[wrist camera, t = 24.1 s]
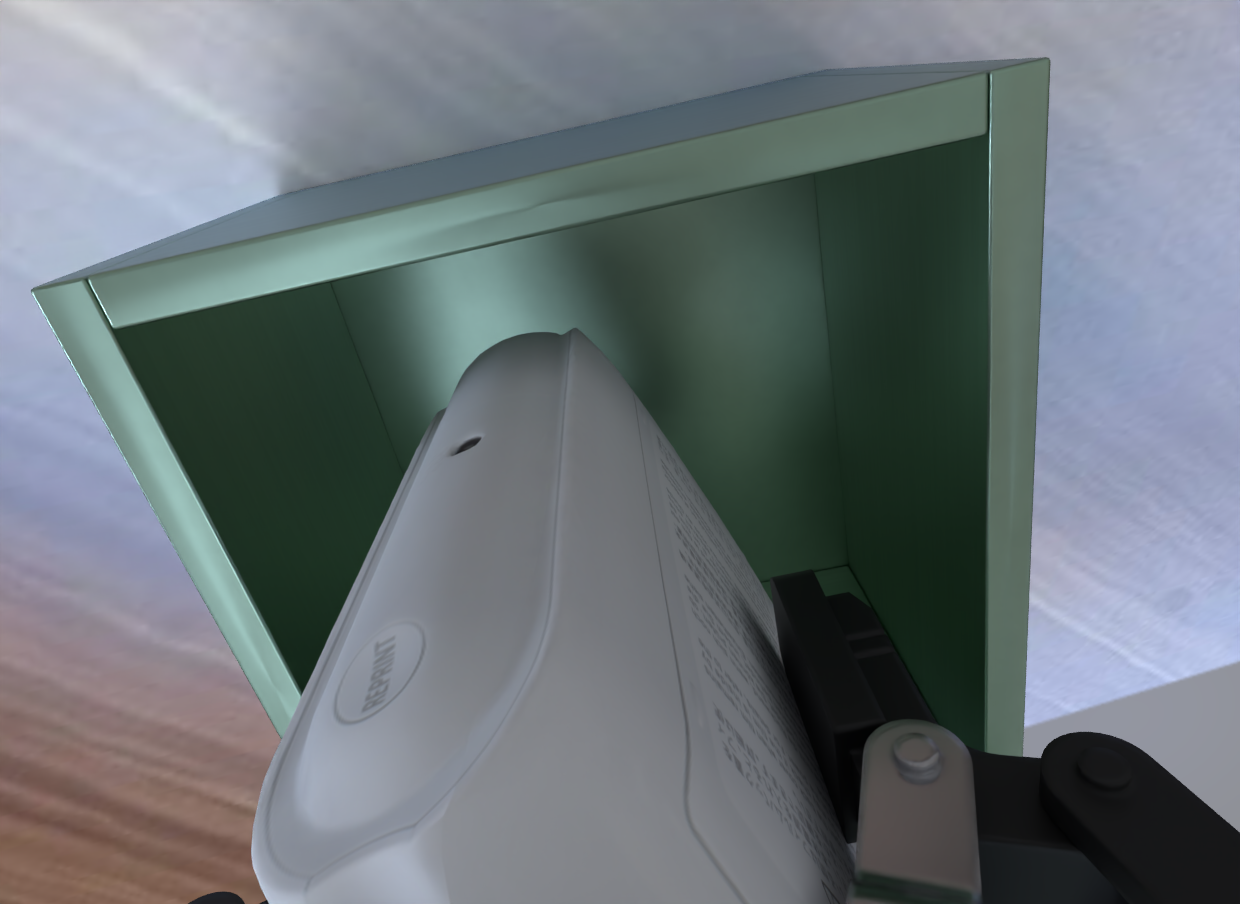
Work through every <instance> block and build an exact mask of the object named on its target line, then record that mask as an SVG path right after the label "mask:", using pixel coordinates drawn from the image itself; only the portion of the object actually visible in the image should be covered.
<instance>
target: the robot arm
mask: <svg viewBox="0 0 1240 904" xmlns="http://www.w3.org/2000/svg"><path fill="white" fill-rule="evenodd" d="M770 586H771V593H772V600H773V607H774V614H775V621H776V628H777V634H778V641H779V647H780V653H781V657H782V661H783V666H784V669H785V673H786V675H787V678H788V681H789V684H790V687H791V690H792V692H793V695H794V698H795V701H796V704H797V706H798V709H799V712H800V715H801V718H802V720H803V723H804V726H805V729H806V732H807V734H808V737H809V740H810V743H811V745H812V748H813V751H814V754H815V757H816V759H817V762H818V765H819V768H820V771H821V773H822V776H823V779H824V782H825V784H826V787H827V790H828V793H829V796H830V798H831V801H832V804H833V807H834V810H835V813H836V815H837V818H838V821H839V824H840V827H841V829H842V832H843V835H844V838H845V841H846V843H847V844H850V843H856V842H857V845H856V859H855V871H854V878H853V879H850V881H849V885H848V891H847V900H846V904H1240V832H1238V831H1237V830H1236V829H1235V828H1234V827H1232V826H1231V825H1230V824H1229V823H1228V822H1226V821H1225V820H1224V819H1223V818H1222V817H1221V816H1220V815H1218V814H1217V813H1216V812H1215V811H1214V810H1213V809H1211V808H1210V807H1209V806H1208V805H1207V804H1205V803H1204V802H1203V801H1202V800H1201V799H1200V798H1198V797H1197V796H1196V795H1195V794H1194V793H1192V792H1191V791H1190V790H1189V789H1188V788H1187V787H1186V786H1184V785H1183V784H1182V783H1181V782H1180V781H1179V780H1177V779H1176V778H1175V777H1174V776H1173V775H1171V774H1170V773H1169V772H1168V771H1167V770H1166V769H1165V768H1163V767H1162V766H1161V765H1160V764H1159V763H1157V762H1156V761H1155V760H1154V759H1153V758H1151V757H1150V756H1149V755H1148V754H1147V753H1145V752H1144V751H1142V750H1141V749H1139V748H1138V747H1136V746H1134V745H1133V744H1131V743H1129V742H1126V741H1124V740H1122V739H1119V738H1116V737H1113V736H1110V735H1106V734H1101V733H1093V732H1076V733H1069V734H1066V735H1062V736H1060V737H1058V738H1056V739H1054V740H1053V741H1052V742H1050V743H1049V744H1048V745H1047V747H1046V748H1045V749H1044V751H1043V754H1042V756H1041V758H1031V757H1020V756H1008V755H999V754H991V753H987V752H983V751H979V750H977V749H974V748H971V747H969V746H967V745H964V743H963V742H962V741H961V740H960V739H959V738H958V737H957V736H956V735H954V734H953V733H952V732H951V731H949V730H947V729H946V728H944V727H942V726H939V725H938V724H937V722H936V721H935V719H934V718H933V716H932V714H931V713H930V711H929V709H928V707H927V706H926V704H925V702H924V700H923V698H922V697H921V695H920V693H919V691H918V690H917V688H916V686H915V684H914V683H913V681H912V679H911V677H910V675H909V674H908V672H907V670H906V668H905V667H904V665H903V663H902V661H901V659H900V658H899V656H898V654H897V652H895V651H894V647H893V645H892V644H891V642H890V640H889V638H888V636H887V635H886V634H885V633H884V629H883V628H882V626H881V624H880V622H879V620H878V619H877V617H876V615H875V613H874V612H873V610H872V608H871V607H869V606H868V605H866V604H865V603H864V602H862V601H861V600H860V599H858V598H857V597H855V596H854V595H853V594H851V593H850V592H846V593H841V594H835V595H830V596H825V594H824V592H823V590H822V588H821V586H820V584H819V582H818V579H817V577H816V575H815V573H814V572H813V570H812V569H810V570H805V571H800V572H795V573H790V574H785V575H780V576H775V577H771V578H770ZM188 904H245V903H244V902H243V900H242V899H241V898H240V897H239V896H238V895H236V894H234V893H231V892H215V893H211V894H207V895H205V896H202V897H199V898H197V899H196V900H194V901H192V902H190V903H188ZM260 904H269V903H268V901H267V900H266V901H264V902H262V903H260Z"/></svg>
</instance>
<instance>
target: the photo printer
mask: <svg viewBox="0 0 1240 904" xmlns="http://www.w3.org/2000/svg"><path fill="white" fill-rule="evenodd" d="M856 845H857V842H856V843H850V844H847V843H846V841H845V838H844V835H843V832H842V829H841V827H840V824H839V821H838V818H837V815H836V813H835V810H834V807H833V804H832V801H831V798H830V796H829V793H828V790H827V787H826V784H825V782H824V779H823V776H822V773H821V771H820V768H819V765H818V762H817V759H816V757H815V754H814V751H813V748H812V745H811V743H810V740H809V737H808V734H807V732H806V729H805V726H804V723H803V720H802V718H801V715H800V712H799V709H798V706H797V704H796V701H795V698H794V695H793V692H792V690H791V687H790V684H789V681H788V678H787V675H786V673H785V669H784V666H783V661H782V657H781V653H780V647H779V641H778V634H777V628H776V621H775V614H774V607H773V603H772V601H771V600H770V598H769V596H768V595H767V593H766V591H765V590H764V588H763V586H762V584H761V583H760V581H759V579H758V578H757V576H756V574H755V573H754V571H753V569H752V568H751V566H750V565H749V563H748V561H747V559H746V557H745V555H744V554H743V553H742V551H741V550H740V548H739V547H738V545H737V544H736V542H735V541H734V539H733V537H732V536H731V534H730V533H729V531H728V530H727V528H726V526H725V525H724V523H723V522H722V520H721V519H720V517H719V515H718V514H717V512H716V511H715V509H714V508H713V506H712V505H711V503H710V502H709V500H708V499H707V497H706V496H705V494H704V493H703V492H702V490H701V489H700V487H699V486H698V484H697V483H696V481H695V480H694V478H693V477H692V475H691V474H690V472H689V471H688V469H687V468H686V466H685V465H684V463H683V462H682V460H681V459H680V457H679V456H678V454H677V452H676V451H675V449H674V448H673V446H672V445H671V444H670V442H669V441H668V439H667V438H666V437H665V435H664V434H663V432H662V431H661V429H660V428H659V426H658V425H657V423H656V422H655V420H654V419H653V418H652V416H651V415H650V413H649V412H648V411H647V409H646V408H645V406H644V405H643V404H642V402H641V401H640V400H639V398H638V397H637V395H636V394H635V393H634V391H633V390H632V389H631V387H630V386H629V384H628V383H627V382H626V380H625V379H624V378H623V376H622V375H621V374H620V372H619V371H618V370H617V369H616V367H615V366H614V365H613V364H612V363H611V362H610V360H609V359H608V358H607V357H606V356H605V354H604V353H603V352H602V351H601V350H600V349H599V348H598V347H597V346H596V345H595V344H594V343H593V342H592V341H591V340H590V339H589V338H588V337H586V336H585V335H584V334H583V333H582V332H581V331H580V330H578V329H577V328H573V329H571V330H570V331H568V332H566V333H565V334H563V335H560V334H558V333H552V332H531V333H525V334H521V335H517V336H513V337H510V338H508V339H505V340H502V341H501V342H499V343H497V344H495V345H493V346H492V347H490V348H488V349H487V350H485V351H484V352H483V353H481V354H480V355H479V356H478V357H477V358H476V359H475V360H474V361H473V362H472V363H471V364H470V365H469V366H468V368H467V369H466V370H465V372H464V373H463V375H462V376H461V378H460V380H459V382H458V384H457V386H456V389H455V391H454V393H453V395H452V398H451V400H450V402H449V404H448V407H446V408H444V409H442V410H441V411H439V412H437V414H436V415H435V417H434V418H433V420H432V421H431V423H430V425H429V426H428V428H427V430H426V432H425V434H424V436H423V438H422V439H421V442H420V445H419V446H418V448H417V449H416V451H415V454H414V456H413V458H412V460H411V462H410V465H409V467H408V469H407V471H406V473H405V475H404V477H403V479H402V481H401V484H400V486H399V488H398V490H397V493H396V495H395V497H394V499H393V501H392V503H391V505H390V508H389V510H388V512H387V514H386V516H385V519H384V521H383V523H382V525H381V526H380V528H379V531H378V533H377V535H376V537H375V540H374V542H373V544H372V546H371V548H370V550H369V552H368V554H367V556H366V559H365V561H364V563H363V565H362V567H361V570H360V572H359V574H358V576H357V578H356V580H355V582H354V584H353V587H352V589H351V591H350V593H349V595H348V597H347V599H346V602H345V604H344V606H343V608H342V610H341V612H340V614H339V616H338V619H337V621H336V623H335V625H334V627H333V629H332V631H331V633H330V635H329V638H328V640H327V642H326V644H325V647H324V649H323V651H322V653H321V656H320V658H319V660H318V662H317V664H316V667H315V669H314V671H313V673H312V675H311V677H310V679H309V681H308V683H307V685H306V687H305V690H304V692H303V694H302V696H301V699H300V701H299V703H298V706H297V708H296V710H295V712H294V714H293V716H292V719H291V721H290V723H289V725H288V727H287V729H286V731H285V734H284V736H283V738H282V740H281V742H280V744H279V746H278V748H277V750H276V752H275V755H274V757H273V759H272V761H271V764H270V766H269V769H268V771H267V774H266V776H265V779H264V781H263V785H262V789H261V794H260V798H259V803H258V807H257V811H256V816H255V820H254V825H253V835H252V847H251V853H252V863H253V868H254V871H255V873H256V876H257V878H258V881H259V884H260V886H261V889H262V891H263V893H264V895H265V897H266V899H267V901H268V903H269V904H846V900H847V891H848V885H849V881H850V879H853V878H854V871H855V859H856Z"/></svg>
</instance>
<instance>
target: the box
mask: <svg viewBox="0 0 1240 904" xmlns="http://www.w3.org/2000/svg"><path fill="white" fill-rule="evenodd" d="M1049 83H1050V59H1049V58H1047V57H1043V58H1025V59H1007V60H988V61H970V62H952V63H934V64H916V65H898V66H880V67H862V68H844V69H827V70H823V71H818V72H814V73H809V74H805V75H801V76H796V77H792V78H788V79H783V80H779V81H775V82H770V83H766V84H762V85H757V86H753V87H749V88H744V89H740V90H735V91H731V92H727V93H722V94H718V95H714V96H709V97H705V98H701V99H696V100H692V101H688V102H683V103H679V104H675V105H670V106H666V107H661V108H657V109H653V110H648V111H644V112H640V113H635V114H631V115H627V116H622V117H618V118H614V119H609V120H605V121H601V122H596V123H592V124H587V125H583V126H579V127H574V128H570V129H566V130H561V131H557V132H553V133H548V134H544V135H540V136H535V137H531V138H527V139H522V140H518V141H513V142H509V143H505V144H500V145H496V146H492V147H487V148H483V149H479V150H474V151H470V152H466V153H461V154H457V155H452V156H448V157H444V158H439V159H435V160H431V161H426V162H422V163H418V164H413V165H409V166H405V167H400V168H396V169H392V170H387V171H383V172H378V173H374V174H370V175H365V176H361V177H357V178H352V179H348V180H344V181H339V182H335V183H331V184H326V185H322V186H318V187H313V188H309V189H304V190H300V191H296V192H291V193H287V194H283V195H278V196H276V197H273V198H270V199H268V200H265V201H262V202H260V203H257V204H254V205H252V206H249V207H246V208H244V209H241V210H238V211H236V212H233V213H230V214H228V215H225V216H222V217H220V218H217V219H215V220H212V221H209V222H207V223H204V224H201V225H199V226H196V227H193V228H191V229H188V230H185V231H183V232H180V233H177V234H175V235H172V236H169V237H167V238H164V239H161V240H159V241H156V242H154V243H151V244H148V245H146V246H143V247H140V248H138V249H135V250H132V251H130V252H127V253H124V254H122V255H119V256H116V257H114V258H111V259H108V260H106V261H103V262H100V263H98V264H95V265H92V266H90V267H87V268H85V269H82V270H79V271H77V272H74V273H71V274H69V275H66V276H63V277H61V278H58V279H55V280H53V281H50V282H47V283H45V284H42V285H39V286H37V287H34V288H33V289H32V290H31V293H32V295H33V297H34V299H35V300H36V302H37V304H38V306H39V307H40V309H41V311H42V313H43V315H44V316H45V318H46V320H47V322H48V324H49V325H50V327H51V329H52V331H53V332H54V334H55V336H56V338H57V340H58V341H59V343H60V345H61V347H62V349H63V350H64V352H65V354H66V356H67V357H68V359H69V361H70V363H71V365H72V366H73V368H74V370H75V372H76V374H77V375H78V377H79V379H80V381H81V382H82V384H83V386H84V388H85V390H86V391H87V393H88V395H89V397H90V399H91V400H92V402H93V404H94V406H95V407H96V409H97V411H98V413H99V415H100V416H101V418H102V420H103V422H104V424H105V425H106V427H107V429H108V431H109V432H110V434H111V436H112V438H113V440H114V441H115V443H116V445H117V447H118V449H119V450H120V452H121V454H122V456H123V458H124V459H125V461H126V463H127V465H128V466H129V468H130V470H131V472H132V474H133V475H134V477H135V479H136V481H137V483H138V484H139V486H140V488H141V490H142V491H143V493H144V495H145V497H146V499H147V500H148V502H149V504H150V506H151V508H152V509H153V511H154V513H155V515H156V516H157V518H158V520H159V522H160V524H161V525H162V527H163V529H164V531H165V533H166V534H167V536H168V538H169V540H170V541H171V543H172V545H173V547H174V549H175V550H176V552H177V554H178V556H179V558H180V559H181V561H182V563H183V565H184V566H185V568H186V570H187V572H188V574H189V575H190V577H191V579H192V581H193V583H194V584H195V586H196V588H197V590H198V591H199V593H200V595H201V597H202V599H203V600H204V602H205V604H206V606H207V608H208V609H209V611H210V613H211V615H212V616H213V618H214V620H215V622H216V624H217V625H218V627H219V629H220V631H221V633H222V634H223V636H224V638H225V640H226V641H227V643H228V645H229V647H230V649H231V650H232V652H233V654H234V656H235V658H236V659H237V661H238V663H239V665H240V667H241V668H242V670H243V672H244V674H245V675H246V677H247V679H248V681H249V683H250V684H251V686H252V688H253V690H254V692H255V693H256V695H257V697H258V699H259V700H260V702H261V704H262V706H263V708H264V709H265V711H266V713H267V715H268V717H269V718H270V720H271V722H272V724H273V725H274V727H275V729H276V731H277V733H278V734H279V736H280V738H281V740H282V738H283V736H284V734H285V731H286V729H287V727H288V725H289V723H290V721H291V719H292V716H293V714H294V712H295V710H296V708H297V706H298V703H299V701H300V699H301V696H302V694H303V692H304V690H305V687H306V685H307V683H308V681H309V679H310V677H311V675H312V673H313V671H314V669H315V667H316V664H317V662H318V660H319V658H320V656H321V653H322V651H323V649H324V647H325V644H326V642H327V640H328V638H329V635H330V633H331V631H332V629H333V627H334V625H335V623H336V621H337V619H338V616H339V614H340V612H341V610H342V608H343V606H344V604H345V602H346V599H347V597H348V595H349V593H350V591H351V589H352V587H353V584H354V582H355V580H356V578H357V576H358V574H359V572H360V570H361V567H362V565H363V563H364V561H365V559H366V556H367V554H368V552H369V550H370V548H371V546H372V544H373V542H374V540H375V537H376V535H377V533H378V531H379V528H380V526H381V525H382V523H383V521H384V519H385V516H386V514H387V512H388V510H389V508H390V505H391V503H392V501H393V499H394V497H395V495H396V493H397V490H398V488H399V486H400V484H401V481H402V479H403V477H404V475H405V473H406V471H407V469H408V467H409V465H410V462H411V460H412V458H413V456H414V454H415V451H416V449H417V448H418V446H419V445H420V442H421V439H422V438H423V436H424V434H425V432H426V430H427V428H428V426H429V425H430V423H431V421H432V420H433V418H434V417H435V415H436V414H437V412H439V411H441V410H442V409H444V408H446V407H448V404H449V402H450V400H451V398H452V395H453V393H454V391H455V389H456V386H457V384H458V382H459V380H460V378H461V376H462V375H463V373H464V372H465V370H466V369H467V368H468V366H469V365H470V364H471V363H472V362H473V361H474V360H475V359H476V358H477V357H478V356H479V355H480V354H481V353H483V352H484V351H485V350H487V349H488V348H490V347H492V346H493V345H495V344H497V343H499V342H501V341H502V340H505V339H508V338H510V337H513V336H517V335H521V334H525V333H531V332H552V333H558V334H560V335H563V334H565V333H566V332H568V331H570V330H571V329H573V328H577V329H578V330H580V331H581V332H582V333H583V334H584V335H585V336H586V337H588V338H589V339H590V340H591V341H592V342H593V343H594V344H595V345H596V346H597V347H598V348H599V349H600V350H601V351H602V352H603V353H604V354H605V356H606V357H607V358H608V359H609V360H610V362H611V363H612V364H613V365H614V366H615V367H616V369H617V370H618V371H619V372H620V374H621V375H622V376H623V378H624V379H625V380H626V382H627V383H628V384H629V386H630V387H631V389H632V390H633V391H634V393H635V394H636V395H637V397H638V398H639V400H640V401H641V402H642V404H643V405H644V406H645V408H646V409H647V411H648V412H649V413H650V415H651V416H652V418H653V419H654V420H655V422H656V423H657V425H658V426H659V428H660V429H661V431H662V432H663V434H664V435H665V437H666V438H667V439H668V441H669V442H670V444H671V445H672V446H673V448H674V449H675V451H676V452H677V454H678V456H679V457H680V459H681V460H682V462H683V463H684V465H685V466H686V468H687V469H688V471H689V472H690V474H691V475H692V477H693V478H694V480H695V481H696V483H697V484H698V486H699V487H700V489H701V490H702V492H703V493H704V494H705V496H706V497H707V499H708V500H709V502H710V503H711V505H712V506H713V508H714V509H715V511H716V512H717V514H718V515H719V517H720V519H721V520H722V522H723V523H724V525H725V526H726V528H727V530H728V531H729V533H730V534H731V536H732V537H733V539H734V541H735V542H736V544H737V545H738V547H739V548H740V550H741V551H742V553H743V554H744V555H745V557H746V559H747V561H748V563H749V565H750V566H751V568H752V569H753V571H754V573H755V574H756V576H757V578H758V579H759V581H760V583H761V584H762V586H763V588H764V590H765V591H766V593H767V595H768V596H769V598H770V600H771V601H772V603H773V600H772V593H771V586H770V578H771V577H775V576H780V575H785V574H790V573H795V572H800V571H805V570H810V569H812V570H813V572H814V573H815V575H816V577H817V579H818V582H819V584H820V586H821V588H822V590H823V592H824V594H825V596H830V595H835V594H841V593H846V592H850V593H851V594H853V595H854V596H855V597H857V598H858V599H860V600H861V601H862V602H864V603H865V604H866V605H868V606H869V607H871V608H872V610H873V612H874V613H875V615H876V617H877V619H878V620H879V622H880V624H881V626H882V628H883V629H884V633H885V634H886V635H887V636H888V638H889V640H890V642H891V644H892V645H893V647H894V651H895V652H897V654H898V656H899V658H900V659H901V661H902V663H903V665H904V667H905V668H906V670H907V672H908V674H909V675H910V677H911V679H912V681H913V683H914V684H915V686H916V688H917V690H918V691H919V693H920V695H921V697H922V698H923V700H924V702H925V704H926V706H927V707H928V709H929V711H930V713H931V714H932V716H933V718H934V719H935V721H936V722H937V724H938V725H939V726H942V727H944V728H946V729H947V730H949V731H951V732H952V733H953V734H954V735H956V736H957V737H958V738H959V739H960V740H961V741H962V742H963V743H964V745H967V746H969V747H971V748H974V749H977V750H979V751H983V752H987V753H991V754H999V755H1008V756H1020V757H1023V735H1024V712H1025V687H1026V661H1027V636H1028V611H1029V586H1030V561H1031V536H1032V511H1033V485H1034V460H1035V435H1036V410H1037V385H1038V360H1039V335H1040V309H1041V284H1042V259H1043V234H1044V209H1045V184H1046V159H1047V133H1048V108H1049Z"/></svg>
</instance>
